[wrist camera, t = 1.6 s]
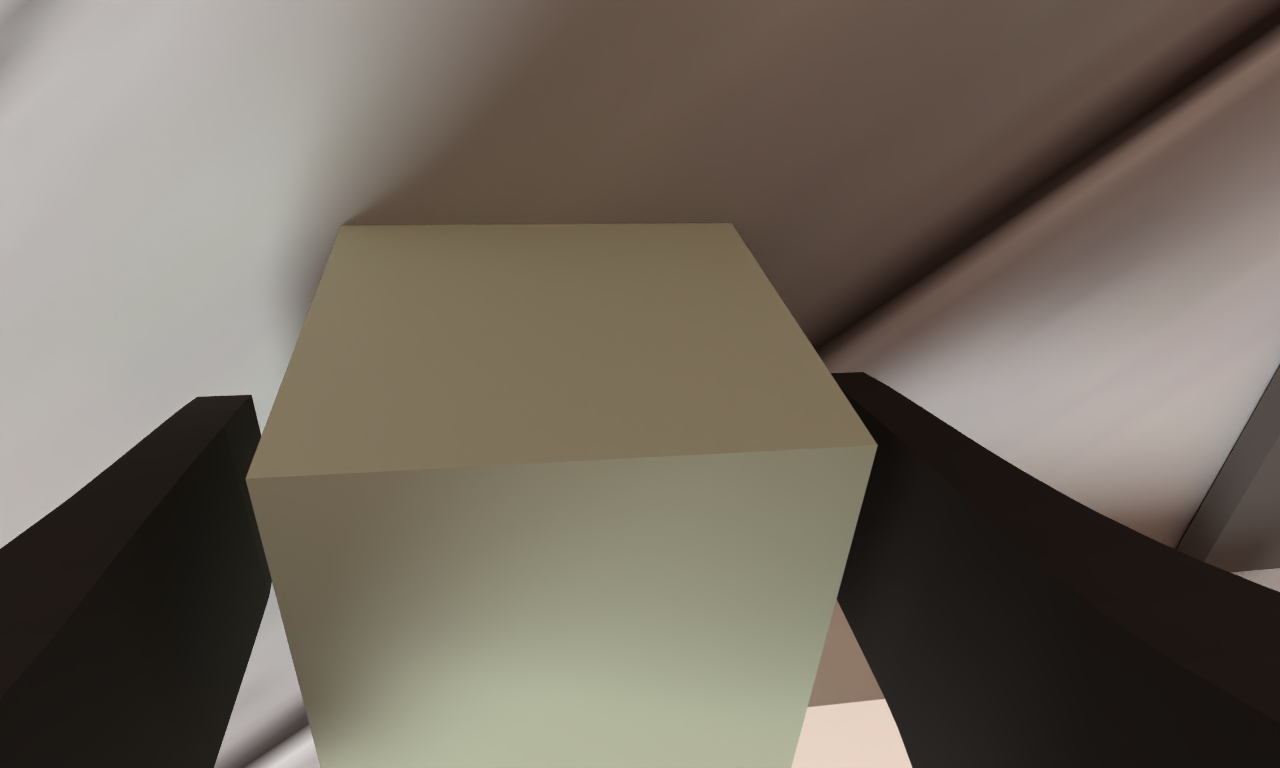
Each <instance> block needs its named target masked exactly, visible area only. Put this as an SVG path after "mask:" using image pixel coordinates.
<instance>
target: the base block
mask: <svg viewBox="0 0 1280 768" xmlns="http://www.w3.org/2000/svg"><path fill="white" fill-rule="evenodd" d="M791 768H912V766H911V763H910V760H909V757H908V755H907V752H906V749H905V746H904V744H903V741H902V738H901V735H900V733H899V730H898V727H897V725H896V723H895V721H894V718H893V716H892V714H891V711H890V709H889V707H888V704H887V702H886V700H885V698H884V695H883V693H882V691H881V689H880V687H879V685H878V683H877V681H876V679H875V677H874V675H873V673H872V671H871V669H870V667H869V665H868V663H867V660H866V658H865V656H864V654H863V652H862V650H861V648H860V646H859V644H858V642H857V640H856V638H855V636H854V634H853V632H852V630H851V628H850V626H849V624H848V622H847V620H846V617H845V615H844V613H843V611H842V609H841V607H840V605H839V603H838V601H837V599H836V603H835V606H834V610H833V614H832V618H831V621H830V625H829V629H828V632H827V636H826V640H825V644H824V647H823V651H822V655H821V659H820V662H819V666H818V670H817V673H816V677H815V681H814V685H813V688H812V692H811V696H810V700H809V703H808V707H807V711H806V714H805V718H804V722H803V726H802V729H801V733H800V737H799V741H798V744H797V748H796V752H795V755H794V759H793V763H792V767H791Z"/></svg>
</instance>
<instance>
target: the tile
mask: <svg viewBox="0 0 1280 768" xmlns="http://www.w3.org/2000/svg"><path fill="white" fill-rule="evenodd" d="M1176 550H1177V551H1180V552H1182V553H1184V554H1186V555H1189V556H1191V557H1193V558H1196V559H1198V560H1200V561H1203V562H1205V563H1208V564H1210V565H1213V566H1215V567H1218V568H1220V569H1222V570H1225V571H1227V572H1239V571H1250V570H1262V569H1273V568H1280V367H1279V369H1278V370H1277V372H1276V374H1275V376H1274V377H1273V379H1272V381H1271V383H1270V385H1269V386H1268V388H1267V390H1266V392H1265V393H1264V395H1263V397H1262V399H1261V400H1260V402H1259V404H1258V406H1257V408H1256V409H1255V411H1254V413H1253V415H1252V416H1251V418H1250V420H1249V422H1248V424H1247V425H1246V427H1245V429H1244V431H1243V432H1242V434H1241V436H1240V438H1239V440H1238V441H1237V443H1236V445H1235V447H1234V448H1233V450H1232V452H1231V454H1230V455H1229V457H1228V459H1227V461H1226V463H1225V464H1224V466H1223V468H1222V470H1221V471H1220V473H1219V475H1218V477H1217V479H1216V480H1215V482H1214V484H1213V486H1212V487H1211V489H1210V491H1209V493H1208V494H1207V496H1206V498H1205V500H1204V502H1203V503H1202V505H1201V507H1200V509H1199V510H1198V512H1197V514H1196V516H1195V518H1194V519H1193V521H1192V523H1191V525H1190V526H1189V528H1188V530H1187V532H1186V534H1185V535H1184V537H1183V539H1182V541H1181V542H1180V544H1179V546H1178V548H1177V549H1176Z"/></svg>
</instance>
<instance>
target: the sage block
mask: <svg viewBox="0 0 1280 768" xmlns="http://www.w3.org/2000/svg"><path fill="white" fill-rule="evenodd" d="M877 446H878V445H877V443H876V442H875V440H874V439H873V437H872V436H871V434H870V433H869V431H868V430H867V428H866V427H865V425H864V424H863V422H862V421H861V419H860V417H859V416H858V414H857V413H856V411H855V410H854V408H853V407H852V405H851V404H850V402H849V401H848V399H847V398H846V396H845V395H844V393H843V392H842V390H841V389H840V387H839V386H838V384H837V383H836V381H835V380H834V378H833V376H832V375H831V373H830V372H829V370H828V369H827V367H826V366H825V364H824V363H823V361H822V360H821V358H820V357H819V355H818V354H817V352H816V351H815V349H814V348H813V346H812V345H811V343H810V342H809V340H808V339H807V337H806V335H805V334H804V332H803V331H802V329H801V328H800V326H799V325H798V323H797V322H796V320H795V319H794V317H793V316H792V314H791V313H790V311H789V310H788V308H787V307H786V305H785V304H784V302H783V301H782V299H781V297H780V296H779V294H778V293H777V291H776V290H775V288H774V287H773V285H772V284H771V282H770V281H769V279H768V278H767V276H766V275H765V273H764V272H763V270H762V269H761V267H760V266H759V264H758V263H757V261H756V260H755V258H754V256H753V255H752V253H751V252H750V250H749V249H748V247H747V246H746V244H745V243H744V241H743V240H742V238H741V237H740V235H739V234H738V232H737V231H736V229H735V228H734V226H733V225H732V223H653V224H496V225H341V227H340V229H339V232H338V235H337V237H336V240H335V243H334V245H333V248H332V250H331V253H330V256H329V258H328V261H327V264H326V266H325V269H324V272H323V274H322V277H321V280H320V282H319V285H318V288H317V290H316V293H315V296H314V298H313V301H312V304H311V306H310V309H309V311H308V314H307V317H306V319H305V322H304V325H303V327H302V330H301V333H300V335H299V338H298V341H297V343H296V346H295V349H294V351H293V354H292V357H291V359H290V362H289V365H288V367H287V370H286V373H285V375H284V378H283V380H282V383H281V386H280V388H279V391H278V394H277V396H276V399H275V402H274V404H273V407H272V410H271V412H270V415H269V418H268V420H267V423H266V426H265V428H264V431H263V434H262V436H261V439H260V442H259V444H258V447H257V449H256V452H255V455H254V457H253V460H252V463H251V465H250V468H249V471H248V473H247V476H246V483H247V487H248V490H249V494H250V498H251V502H252V506H253V510H254V513H255V517H256V521H257V525H258V529H259V533H260V536H261V540H262V544H263V548H264V552H265V556H266V559H267V563H268V567H269V571H270V575H271V579H272V582H273V586H274V590H275V594H276V598H277V602H278V605H279V609H280V613H281V617H282V621H283V625H284V628H285V632H286V636H287V640H288V644H289V648H290V651H291V655H292V659H293V663H294V667H295V671H296V674H297V678H298V682H299V686H300V690H301V694H302V697H303V701H304V705H305V709H306V713H307V717H308V720H309V724H310V728H311V732H312V736H313V740H314V743H315V747H316V751H317V755H318V759H319V763H320V766H321V768H791V767H792V763H793V759H794V755H795V752H796V748H797V744H798V741H799V737H800V733H801V729H802V726H803V722H804V718H805V714H806V711H807V707H808V703H809V700H810V696H811V692H812V688H813V685H814V681H815V677H816V673H817V670H818V666H819V662H820V659H821V655H822V651H823V647H824V644H825V640H826V636H827V632H828V629H829V625H830V621H831V618H832V614H833V610H834V606H835V603H836V599H837V595H838V592H839V588H840V584H841V580H842V577H843V573H844V569H845V565H846V562H847V558H848V554H849V551H850V547H851V543H852V539H853V536H854V532H855V528H856V524H857V521H858V517H859V513H860V510H861V506H862V502H863V498H864V495H865V491H866V487H867V483H868V480H869V476H870V472H871V469H872V465H873V461H874V457H875V454H876V450H877Z"/></svg>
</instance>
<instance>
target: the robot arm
mask: <svg viewBox="0 0 1280 768" xmlns="http://www.w3.org/2000/svg"><path fill="white" fill-rule="evenodd" d="M831 375H832V376H833V378H834V380H835V381H836V383H837V384H838V386H839V387H840V389H841V390H842V392H843V393H844V395H845V396H846V398H847V399H848V401H849V402H850V404H851V405H852V407H853V408H854V410H855V411H856V413H857V414H858V416H859V417H860V419H861V421H862V422H863V424H864V425H865V427H866V428H867V430H868V431H869V433H870V434H871V436H872V437H873V439H874V440H875V442H876V443H877V445H878V446H877V450H876V454H875V457H874V461H873V465H872V469H871V472H870V476H869V480H868V483H867V487H866V491H865V495H864V498H863V502H862V506H861V510H860V513H859V517H858V521H857V524H856V528H855V532H854V536H853V539H852V543H851V547H850V551H849V554H848V558H847V562H846V565H845V569H844V573H843V577H842V580H841V584H840V588H839V592H838V595H837V601H838V603H839V605H840V607H841V609H842V611H843V613H844V615H845V617H846V620H847V622H848V624H849V626H850V628H851V630H852V632H853V634H854V636H855V638H856V640H857V642H858V644H859V646H860V648H861V650H862V652H863V654H864V656H865V658H866V660H867V663H868V665H869V667H870V669H871V671H872V673H873V675H874V677H875V679H876V681H877V683H878V685H879V687H880V689H881V691H882V693H883V695H884V698H885V700H886V702H887V704H888V707H889V709H890V711H891V714H892V716H893V718H894V721H895V723H896V725H897V727H898V730H899V733H900V735H901V738H902V741H903V744H904V746H905V749H906V752H907V755H908V757H909V760H910V763H911V766H912V768H1280V592H1278V591H1275V590H1272V589H1270V588H1267V587H1264V586H1262V585H1259V584H1257V583H1254V582H1252V581H1249V580H1247V579H1244V578H1242V577H1240V576H1237V575H1235V574H1232V573H1230V572H1227V571H1225V570H1222V569H1220V568H1218V567H1215V566H1213V565H1210V564H1208V563H1205V562H1203V561H1200V560H1198V559H1196V558H1193V557H1191V556H1189V555H1186V554H1184V553H1182V552H1180V551H1177V550H1175V549H1173V548H1171V547H1168V546H1166V545H1164V544H1162V543H1159V542H1157V541H1155V540H1153V539H1151V538H1149V537H1147V536H1145V535H1143V534H1141V533H1139V532H1137V531H1135V530H1133V529H1130V528H1128V527H1126V526H1124V525H1122V524H1120V523H1118V522H1116V521H1114V520H1112V519H1110V518H1108V517H1106V516H1104V515H1102V514H1100V513H1098V512H1096V511H1094V510H1092V509H1090V508H1088V507H1086V506H1084V505H1082V504H1081V503H1079V502H1077V501H1075V500H1073V499H1071V498H1069V497H1068V496H1066V495H1064V494H1062V493H1061V492H1059V491H1057V490H1055V489H1053V488H1052V487H1050V486H1048V485H1046V484H1045V483H1043V482H1041V481H1039V480H1038V479H1036V478H1034V477H1032V476H1031V475H1029V474H1027V473H1025V472H1024V471H1022V470H1020V469H1019V468H1017V467H1015V466H1014V465H1012V464H1010V463H1009V462H1007V461H1005V460H1004V459H1002V458H1000V457H999V456H997V455H995V454H994V453H992V452H991V451H989V450H987V449H986V448H984V447H983V446H981V445H979V444H978V443H976V442H975V441H973V440H972V439H970V438H968V437H967V436H965V435H964V434H962V433H961V432H959V431H957V430H956V429H954V428H953V427H951V426H950V425H948V424H947V423H945V422H943V421H942V420H940V419H939V418H937V417H936V416H934V415H933V414H931V413H930V412H928V411H926V410H925V409H923V408H922V407H920V406H919V405H917V404H916V403H914V402H913V401H911V400H909V399H908V398H906V397H905V396H903V395H901V394H900V393H898V392H897V391H895V390H894V389H892V388H890V387H889V386H887V385H885V384H884V383H882V382H880V381H878V380H877V379H875V378H873V377H871V376H869V375H867V374H865V373H863V372H854V373H831ZM260 439H261V433H260V429H259V425H258V420H257V416H256V412H255V408H254V403H253V399H252V395H237V396H210V397H197V398H195V399H194V400H192V401H191V402H190V403H188V404H187V405H185V406H184V407H183V408H181V409H180V410H179V411H178V412H176V413H175V414H174V415H172V416H171V417H170V418H169V419H167V420H166V421H165V422H164V423H163V424H161V425H160V426H159V427H158V428H156V429H155V430H154V431H153V432H151V433H150V434H149V435H148V436H147V437H145V438H144V439H143V440H142V441H140V442H139V443H138V444H137V445H136V446H134V447H133V448H132V449H131V450H129V451H128V452H127V453H126V454H125V455H123V456H122V457H121V458H119V459H118V460H117V461H116V462H114V463H113V464H112V465H111V466H109V467H108V468H107V469H106V470H104V471H103V472H102V473H101V474H99V475H98V476H97V477H96V478H94V479H93V480H92V481H91V482H89V483H88V484H87V485H86V486H84V487H83V488H82V489H81V490H79V491H78V492H77V493H76V494H74V495H73V496H72V497H71V498H69V499H68V500H67V501H65V502H64V503H63V504H61V505H60V506H59V507H57V508H56V509H54V510H53V511H52V512H50V513H49V514H48V515H46V516H45V517H44V518H42V519H41V520H39V521H38V522H37V523H35V524H34V525H33V526H31V527H30V528H28V529H27V530H26V531H24V532H23V533H22V534H20V535H19V536H17V537H16V538H15V539H13V540H12V541H11V542H9V543H8V544H7V545H5V546H4V547H2V548H1V549H0V768H214V765H215V762H216V759H217V756H218V753H219V750H220V747H221V744H222V741H223V738H224V735H225V732H226V729H227V726H228V723H229V719H230V716H231V713H232V710H233V707H234V704H235V701H236V698H237V695H238V692H239V689H240V686H241V683H242V680H243V677H244V674H245V671H246V667H247V664H248V661H249V658H250V655H251V652H252V649H253V646H254V643H255V639H256V636H257V633H258V630H259V627H260V624H261V621H262V618H263V614H264V611H265V608H266V605H267V601H268V598H269V594H270V589H271V583H272V579H271V575H270V571H269V567H268V563H267V559H266V556H265V552H264V548H263V544H262V540H261V536H260V533H259V529H258V525H257V521H256V517H255V513H254V510H253V506H252V502H251V498H250V494H249V490H248V487H247V483H246V476H247V473H248V471H249V468H250V465H251V463H252V460H253V457H254V455H255V452H256V449H257V447H258V444H259V442H260Z"/></svg>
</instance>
